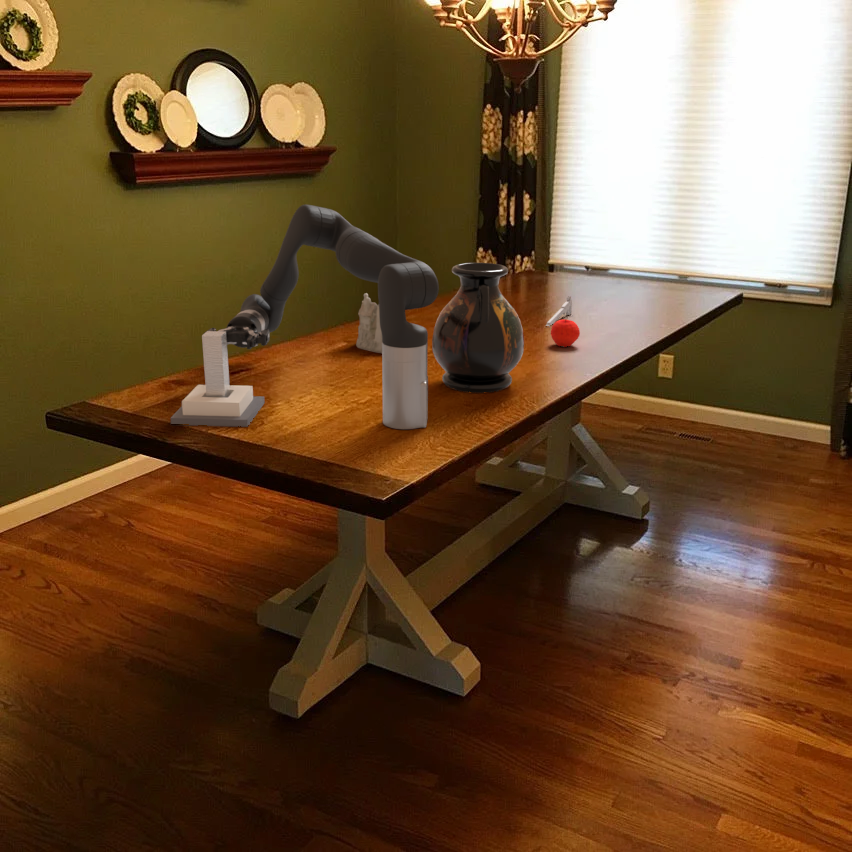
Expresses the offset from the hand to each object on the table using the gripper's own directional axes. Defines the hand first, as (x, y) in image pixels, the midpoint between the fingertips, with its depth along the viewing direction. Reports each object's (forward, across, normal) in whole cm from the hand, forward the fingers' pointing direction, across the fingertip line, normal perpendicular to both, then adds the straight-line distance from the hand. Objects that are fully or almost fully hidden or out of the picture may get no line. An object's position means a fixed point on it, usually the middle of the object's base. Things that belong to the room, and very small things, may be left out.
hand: (229, 344), depth 206 cm
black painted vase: (-15, +55, +13) cm, 58 cm away
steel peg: (+11, 0, +11) cm, 16 cm away
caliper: (-85, +80, +13) cm, 118 cm away
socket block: (+11, 0, +12) cm, 17 cm away
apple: (-54, +79, +13) cm, 96 cm away
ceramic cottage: (-50, +30, +13) cm, 60 cm away
